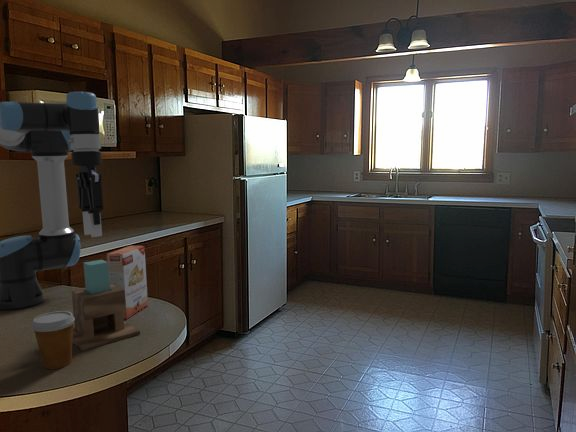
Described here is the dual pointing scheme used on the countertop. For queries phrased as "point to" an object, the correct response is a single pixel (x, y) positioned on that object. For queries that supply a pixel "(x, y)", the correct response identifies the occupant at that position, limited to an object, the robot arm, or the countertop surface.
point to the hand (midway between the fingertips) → (93, 235)
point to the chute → (100, 318)
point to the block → (96, 276)
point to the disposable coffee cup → (54, 338)
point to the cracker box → (129, 276)
